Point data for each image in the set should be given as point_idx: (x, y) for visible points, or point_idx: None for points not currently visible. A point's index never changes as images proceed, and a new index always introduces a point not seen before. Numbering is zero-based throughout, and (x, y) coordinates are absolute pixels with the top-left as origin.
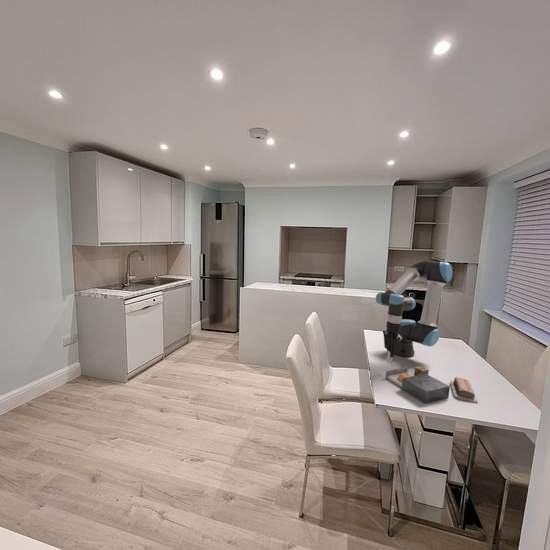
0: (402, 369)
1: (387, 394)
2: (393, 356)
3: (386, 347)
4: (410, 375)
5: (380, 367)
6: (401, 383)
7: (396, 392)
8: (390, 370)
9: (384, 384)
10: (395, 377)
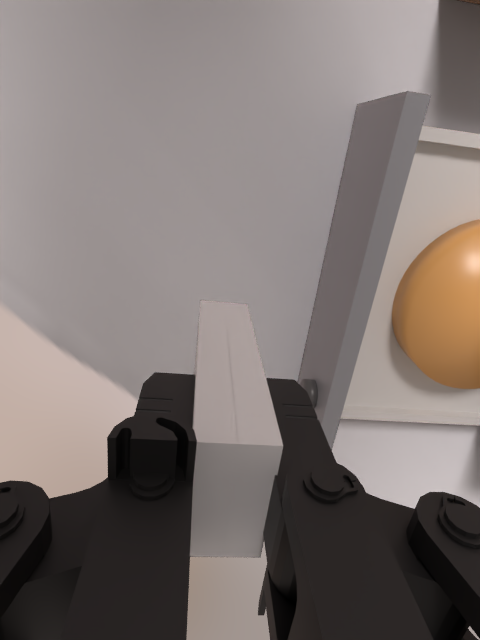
0: (391, 216)
1: None
2: (306, 397)
3: (58, 619)
4: (465, 147)
5: (58, 241)
6: (466, 396)
7: (472, 485)
8: (329, 411)
9: None
10: (366, 351)
